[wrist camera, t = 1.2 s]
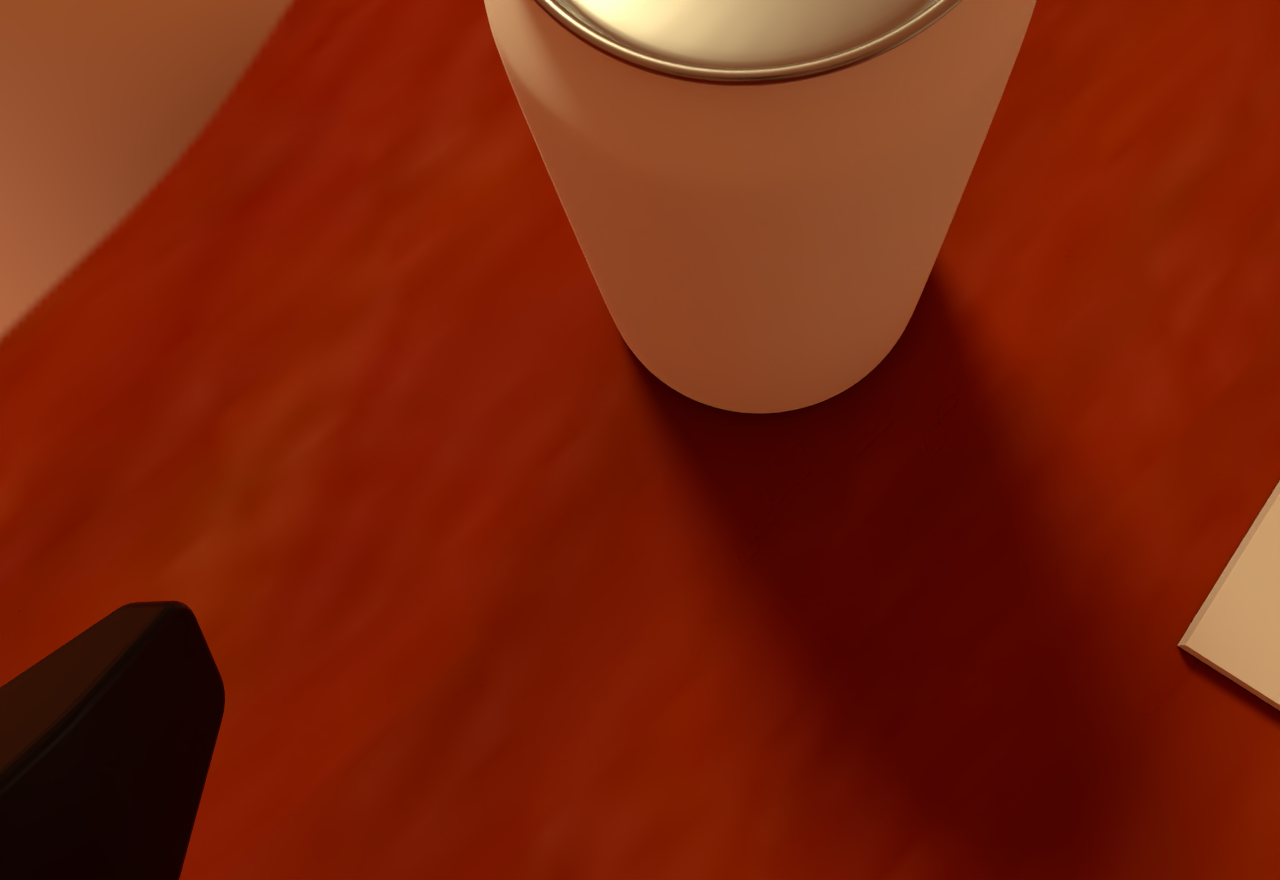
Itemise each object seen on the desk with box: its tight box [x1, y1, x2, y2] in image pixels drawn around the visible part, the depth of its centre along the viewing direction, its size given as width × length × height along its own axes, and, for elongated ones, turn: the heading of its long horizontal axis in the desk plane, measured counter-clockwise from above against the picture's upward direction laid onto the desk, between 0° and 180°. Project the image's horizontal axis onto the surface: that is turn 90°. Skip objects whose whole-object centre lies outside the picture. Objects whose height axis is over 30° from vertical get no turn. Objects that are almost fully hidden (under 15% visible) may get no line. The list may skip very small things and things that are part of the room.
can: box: [484, 0, 1036, 413], centre depth 17 cm, size 6×6×12 cm
